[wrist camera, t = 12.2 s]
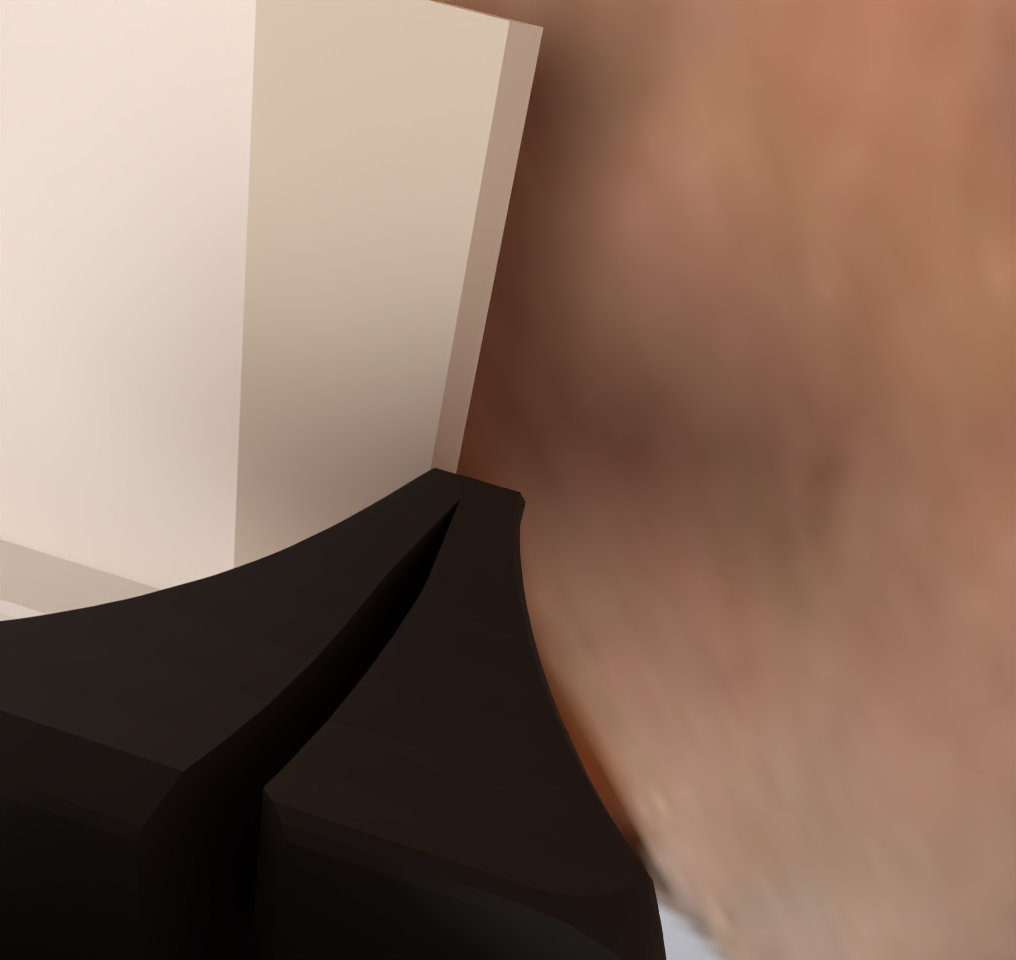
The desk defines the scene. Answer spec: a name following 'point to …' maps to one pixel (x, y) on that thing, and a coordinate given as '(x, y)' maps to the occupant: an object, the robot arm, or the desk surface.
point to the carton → (120, 294)
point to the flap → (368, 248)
